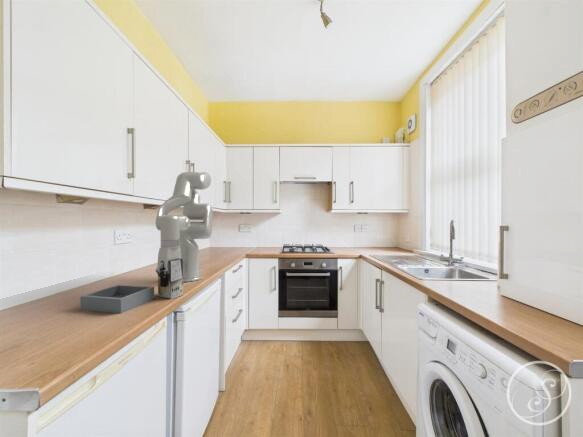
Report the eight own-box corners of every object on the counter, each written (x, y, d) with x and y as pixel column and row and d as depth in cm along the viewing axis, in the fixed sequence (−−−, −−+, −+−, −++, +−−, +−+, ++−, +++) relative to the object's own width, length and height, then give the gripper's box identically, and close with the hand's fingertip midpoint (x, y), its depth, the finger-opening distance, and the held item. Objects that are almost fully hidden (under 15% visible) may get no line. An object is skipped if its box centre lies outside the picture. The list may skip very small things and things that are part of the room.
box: (118, 296, 108) (118, 284, 108) (154, 298, 104) (154, 286, 104) (80, 309, 92) (80, 296, 92) (121, 313, 89) (120, 299, 89)
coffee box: (184, 295, 109) (183, 258, 109) (171, 299, 103) (170, 260, 103) (170, 292, 113) (170, 257, 113) (157, 296, 108) (156, 259, 108)
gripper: (175, 241, 118) (176, 278, 118) (147, 245, 100) (147, 289, 101) (190, 241, 116) (190, 279, 116) (163, 246, 99) (164, 290, 99)
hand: (170, 283), depth 108 cm, fingers closed on coffee box, 7 cm apart
